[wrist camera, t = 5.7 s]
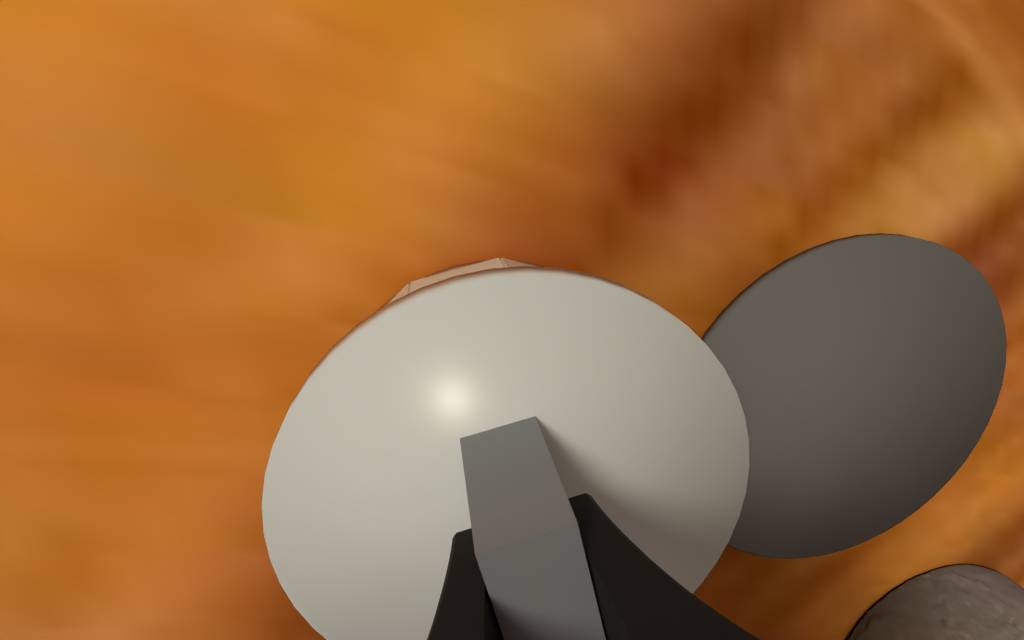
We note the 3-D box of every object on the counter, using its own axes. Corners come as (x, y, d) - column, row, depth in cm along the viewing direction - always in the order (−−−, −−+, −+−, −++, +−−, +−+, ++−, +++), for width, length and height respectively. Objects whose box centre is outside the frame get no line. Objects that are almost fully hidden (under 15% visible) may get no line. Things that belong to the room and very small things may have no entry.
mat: (980, 496, 23) (989, 502, 23) (689, 590, 22) (693, 598, 22) (1013, 189, 18) (1025, 190, 18) (643, 294, 17) (648, 298, 17)
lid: (748, 587, 17) (854, 737, 13) (366, 712, 16) (348, 914, 12) (710, 205, 12) (854, 247, 8) (181, 351, 12) (52, 476, 8)
